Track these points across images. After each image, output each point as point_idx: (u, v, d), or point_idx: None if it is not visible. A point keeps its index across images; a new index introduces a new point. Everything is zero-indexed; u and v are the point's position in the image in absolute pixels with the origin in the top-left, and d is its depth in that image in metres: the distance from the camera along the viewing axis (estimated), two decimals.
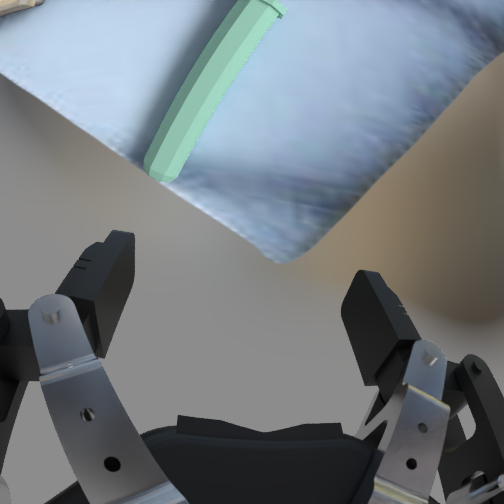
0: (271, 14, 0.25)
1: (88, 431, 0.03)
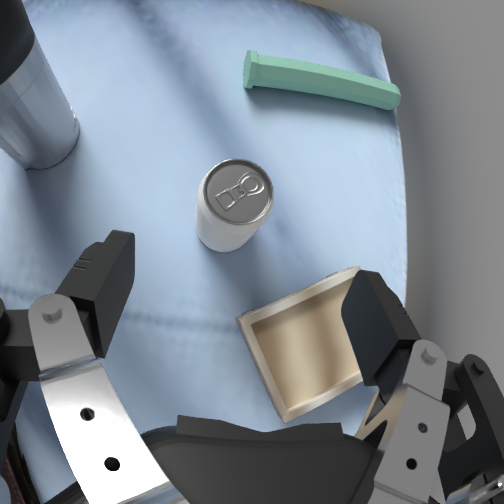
0: None
1: (88, 431, 0.03)
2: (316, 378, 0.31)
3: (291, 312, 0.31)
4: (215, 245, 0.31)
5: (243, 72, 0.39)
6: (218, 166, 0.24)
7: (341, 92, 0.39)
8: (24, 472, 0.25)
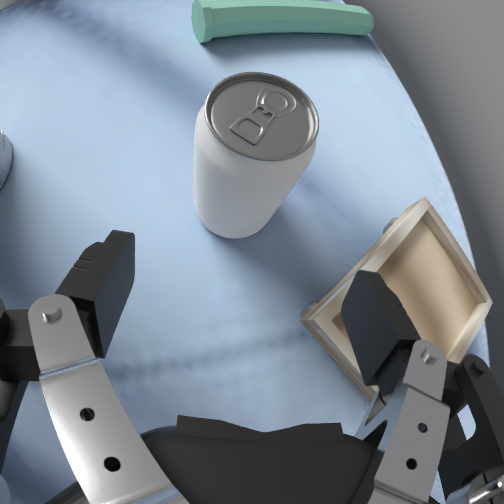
0: None
1: (88, 431, 0.03)
2: None
3: None
4: (237, 226, 0.21)
5: (194, 30, 0.29)
6: (218, 88, 0.14)
7: (313, 22, 0.29)
8: None
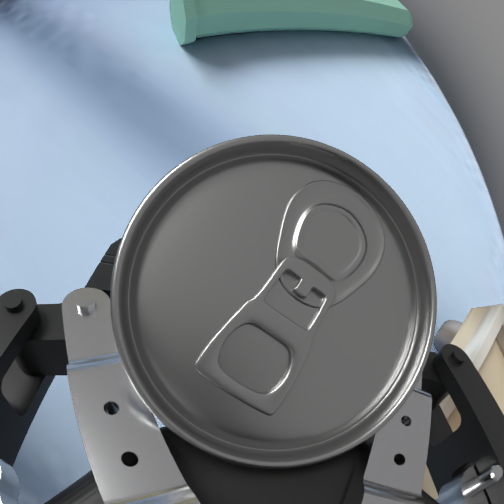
0: None
1: (110, 424, 0.04)
2: None
3: None
4: None
5: (173, 27, 0.20)
6: (156, 203, 0.05)
7: (340, 17, 0.20)
8: None
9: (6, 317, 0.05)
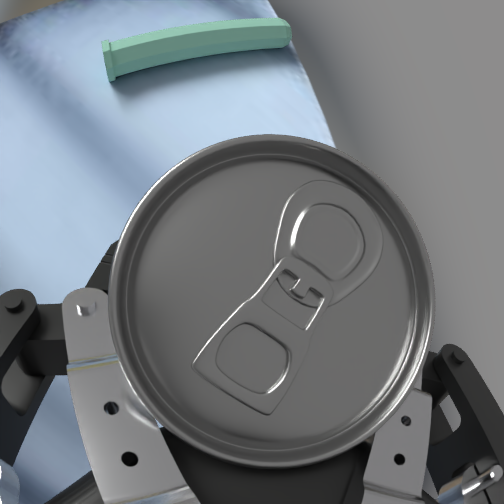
0: None
1: (110, 424, 0.04)
2: None
3: None
4: None
5: None
6: (154, 203, 0.05)
7: (217, 45, 0.32)
8: None
9: (6, 317, 0.05)
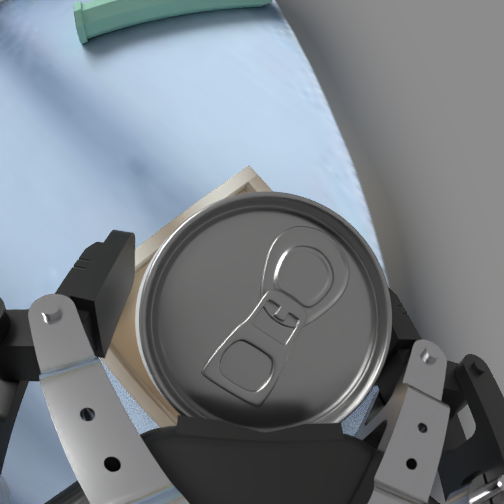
0: None
1: (88, 431, 0.03)
2: None
3: None
4: None
5: None
6: (169, 252, 0.06)
7: (193, 1, 0.26)
8: None
9: None
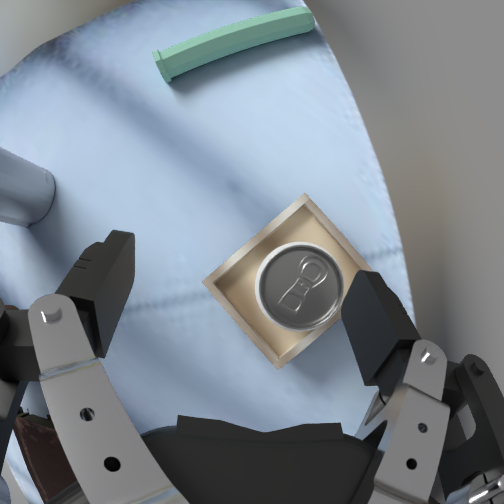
0: None
1: (88, 431, 0.03)
2: None
3: (252, 260, 0.33)
4: None
5: None
6: (267, 266, 0.21)
7: (250, 40, 0.37)
8: None
9: None
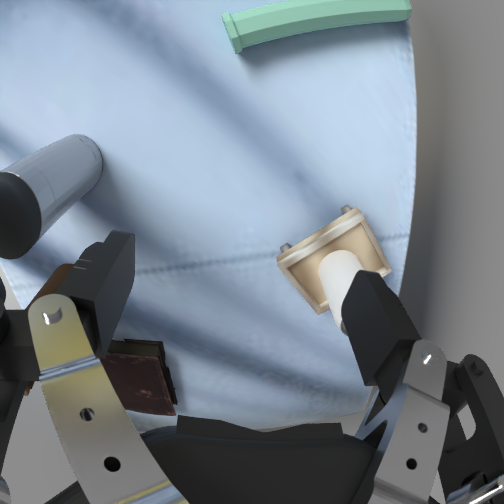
0: (236, 16, 0.28)
1: (88, 431, 0.03)
2: None
3: (313, 250, 0.44)
4: None
5: None
6: None
7: (340, 25, 0.29)
8: None
9: None
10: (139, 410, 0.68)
